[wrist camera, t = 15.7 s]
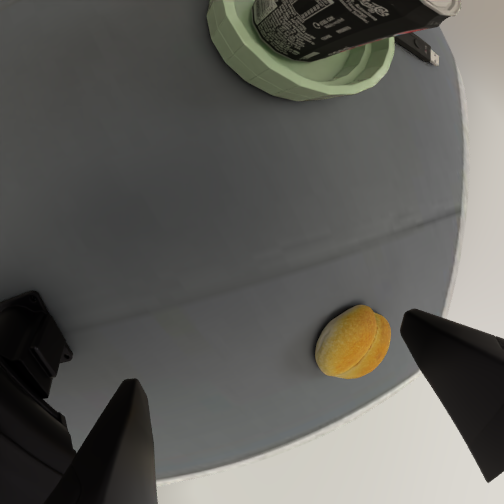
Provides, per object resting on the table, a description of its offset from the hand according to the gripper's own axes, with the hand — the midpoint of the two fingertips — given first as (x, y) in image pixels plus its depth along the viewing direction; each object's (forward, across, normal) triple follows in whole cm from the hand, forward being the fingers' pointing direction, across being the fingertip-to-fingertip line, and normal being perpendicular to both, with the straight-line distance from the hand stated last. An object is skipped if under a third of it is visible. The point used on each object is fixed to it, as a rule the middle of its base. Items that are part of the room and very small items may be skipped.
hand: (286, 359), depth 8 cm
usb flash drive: (+15, -20, -15) cm, 29 cm away
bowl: (+14, -6, -14) cm, 21 cm away
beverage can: (+13, -6, -14) cm, 20 cm away
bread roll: (+14, -11, +14) cm, 23 cm away
